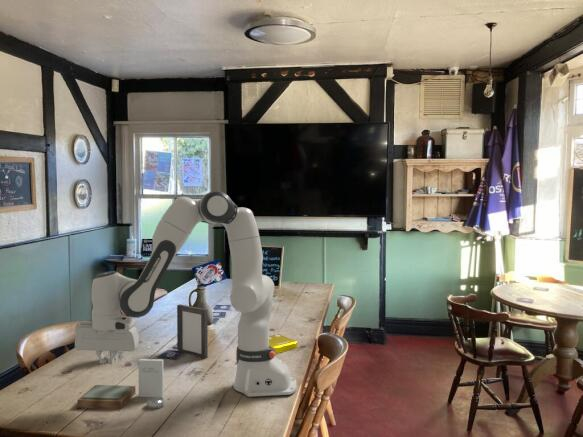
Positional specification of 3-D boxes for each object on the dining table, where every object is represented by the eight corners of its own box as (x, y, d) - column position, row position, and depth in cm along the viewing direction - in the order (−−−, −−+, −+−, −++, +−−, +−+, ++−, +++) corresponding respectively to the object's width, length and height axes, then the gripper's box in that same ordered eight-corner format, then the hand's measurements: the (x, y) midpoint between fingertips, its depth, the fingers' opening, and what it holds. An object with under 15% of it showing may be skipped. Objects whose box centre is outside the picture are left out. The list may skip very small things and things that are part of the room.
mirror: (135, 393, 163) (135, 384, 163) (120, 409, 151) (120, 399, 151) (95, 392, 164) (95, 383, 164) (77, 407, 152) (77, 398, 152)
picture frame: (177, 353, 204) (177, 304, 203) (180, 352, 206) (180, 304, 205) (204, 361, 196) (204, 310, 195) (208, 359, 197) (208, 309, 196)
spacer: (165, 403, 156) (165, 397, 156) (160, 410, 151) (160, 404, 151) (150, 403, 156) (150, 397, 156) (144, 409, 151) (144, 403, 151)
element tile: (271, 358, 201) (271, 347, 200) (251, 349, 212) (251, 338, 212) (299, 351, 210) (299, 340, 210) (278, 342, 222) (278, 332, 222)
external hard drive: (140, 395, 162) (139, 358, 162) (164, 395, 162) (163, 359, 161) (138, 397, 161) (138, 360, 160) (162, 397, 160) (162, 361, 159)
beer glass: (127, 361, 195) (127, 325, 194) (111, 366, 189) (110, 328, 189) (119, 357, 199) (118, 321, 199) (103, 361, 194) (102, 325, 194)
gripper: (70, 323, 154) (71, 366, 155) (133, 324, 153) (133, 367, 153) (80, 318, 160) (81, 359, 161) (140, 319, 159) (140, 360, 160)
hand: (107, 363), depth 157 cm, fingers closed
